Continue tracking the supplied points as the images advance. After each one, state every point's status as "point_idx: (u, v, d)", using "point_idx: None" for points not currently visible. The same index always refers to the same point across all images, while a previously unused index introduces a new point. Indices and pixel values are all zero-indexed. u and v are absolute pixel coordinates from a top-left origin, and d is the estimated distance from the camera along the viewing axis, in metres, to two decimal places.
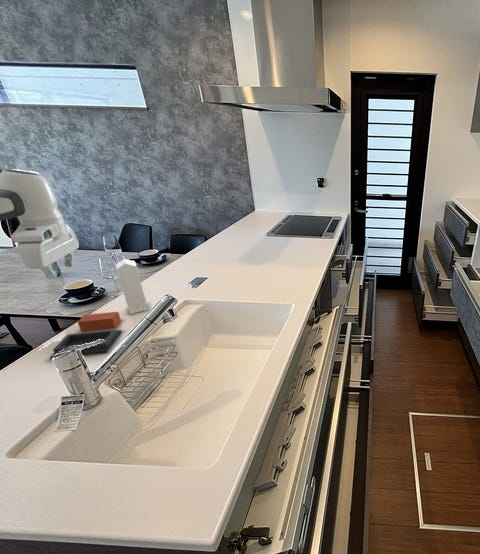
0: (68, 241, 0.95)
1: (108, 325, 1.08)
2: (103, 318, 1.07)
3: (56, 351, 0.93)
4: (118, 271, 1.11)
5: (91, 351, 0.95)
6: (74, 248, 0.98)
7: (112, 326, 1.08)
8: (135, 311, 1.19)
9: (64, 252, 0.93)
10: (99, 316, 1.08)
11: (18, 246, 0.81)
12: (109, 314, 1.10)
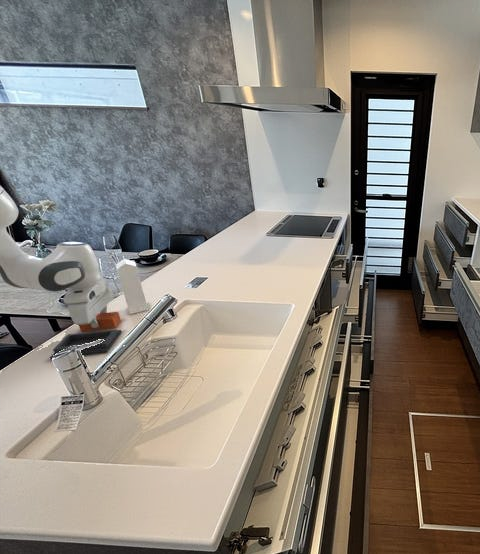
0: (105, 295, 1.10)
1: (108, 325, 1.08)
2: (103, 318, 1.07)
3: (56, 351, 0.93)
4: (118, 271, 1.11)
5: (91, 351, 0.95)
6: (109, 300, 1.13)
7: (112, 326, 1.08)
8: (135, 311, 1.19)
9: (102, 305, 1.08)
10: (99, 316, 1.08)
11: (68, 307, 0.96)
12: (109, 314, 1.10)
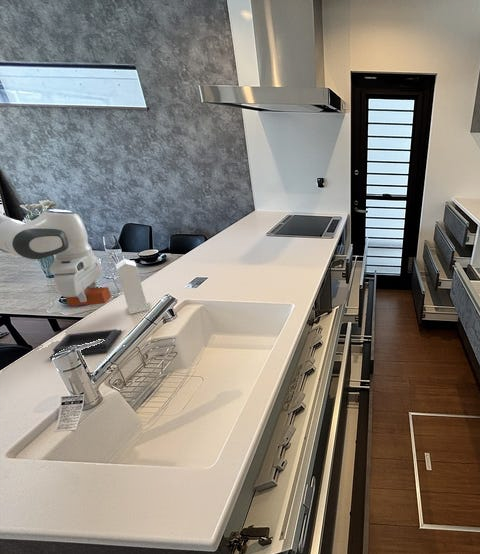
0: (95, 269, 1.06)
1: (97, 300, 1.03)
2: (92, 292, 1.02)
3: (56, 351, 0.93)
4: (118, 271, 1.11)
5: (91, 351, 0.95)
6: (99, 275, 1.08)
7: (101, 301, 1.04)
8: (135, 311, 1.19)
9: (91, 280, 1.03)
10: (88, 291, 1.03)
11: (55, 278, 0.91)
12: (98, 289, 1.05)
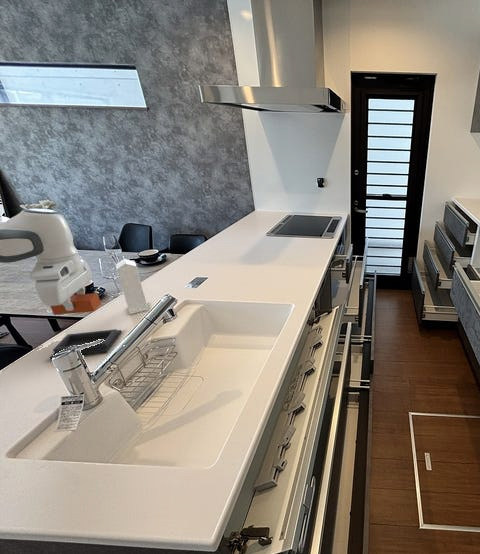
0: (82, 274, 0.97)
1: (85, 308, 0.94)
2: (79, 300, 0.94)
3: (56, 351, 0.93)
4: (118, 271, 1.11)
5: (91, 351, 0.95)
6: (88, 280, 0.99)
7: (90, 309, 0.95)
8: (135, 311, 1.19)
9: (79, 286, 0.94)
10: (75, 298, 0.94)
11: (36, 284, 0.82)
12: (87, 296, 0.96)
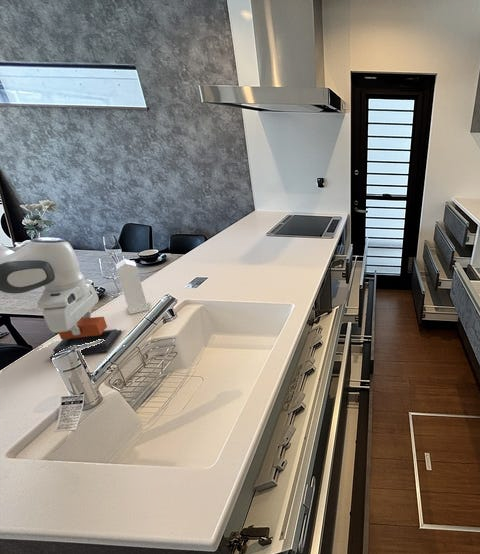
0: (89, 298, 0.98)
1: (92, 332, 0.96)
2: (86, 324, 0.95)
3: (56, 351, 0.93)
4: (118, 271, 1.11)
5: (91, 351, 0.95)
6: (94, 303, 1.01)
7: (96, 333, 0.96)
8: (135, 311, 1.19)
9: (85, 310, 0.96)
10: (82, 322, 0.96)
11: (44, 312, 0.84)
12: (93, 319, 0.98)
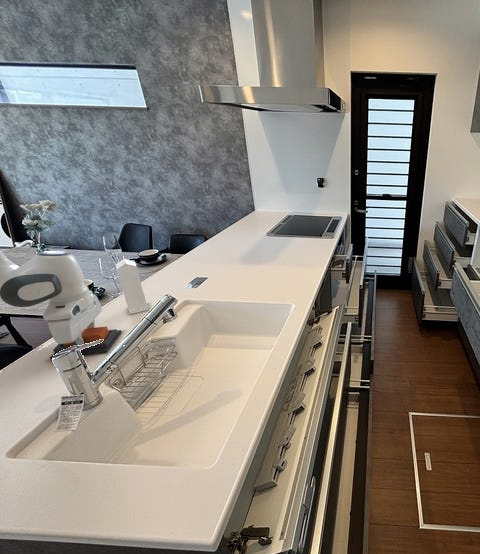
0: (92, 308, 1.00)
1: None
2: (90, 334, 0.97)
3: (56, 351, 0.93)
4: (118, 271, 1.11)
5: (91, 351, 0.95)
6: (98, 313, 1.02)
7: None
8: (135, 311, 1.19)
9: (89, 320, 0.98)
10: (85, 332, 0.97)
11: (49, 324, 0.86)
12: (97, 329, 0.99)
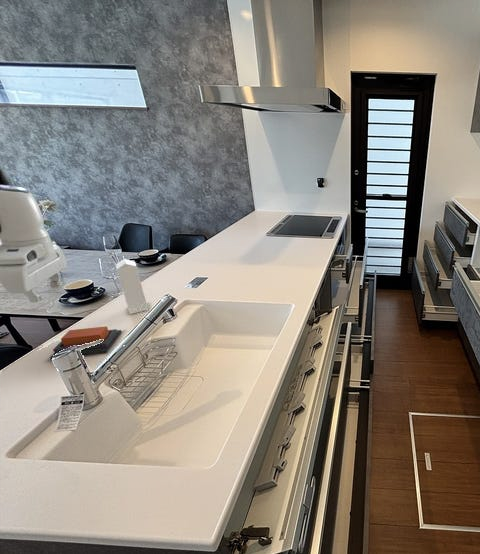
0: (55, 260, 0.88)
1: None
2: (90, 334, 0.97)
3: (56, 351, 0.93)
4: (118, 271, 1.11)
5: (91, 351, 0.95)
6: (61, 267, 0.91)
7: None
8: (135, 311, 1.19)
9: (50, 273, 0.86)
10: (86, 332, 0.98)
11: None
12: (97, 329, 0.99)
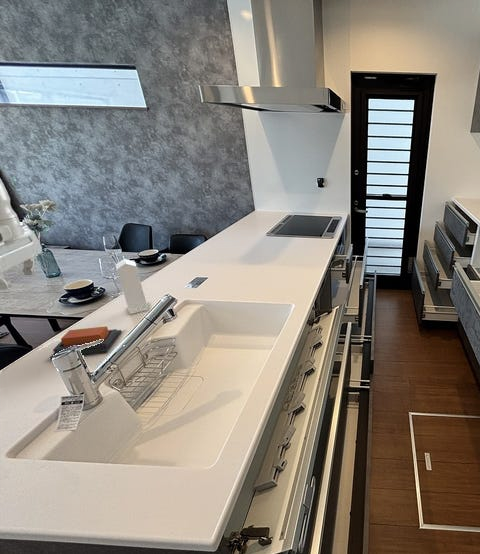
0: (27, 245, 0.82)
1: None
2: (90, 334, 0.97)
3: (56, 351, 0.93)
4: (118, 271, 1.11)
5: (91, 351, 0.95)
6: (35, 253, 0.84)
7: None
8: (135, 311, 1.19)
9: (21, 258, 0.79)
10: (86, 332, 0.98)
11: None
12: (97, 329, 0.99)
